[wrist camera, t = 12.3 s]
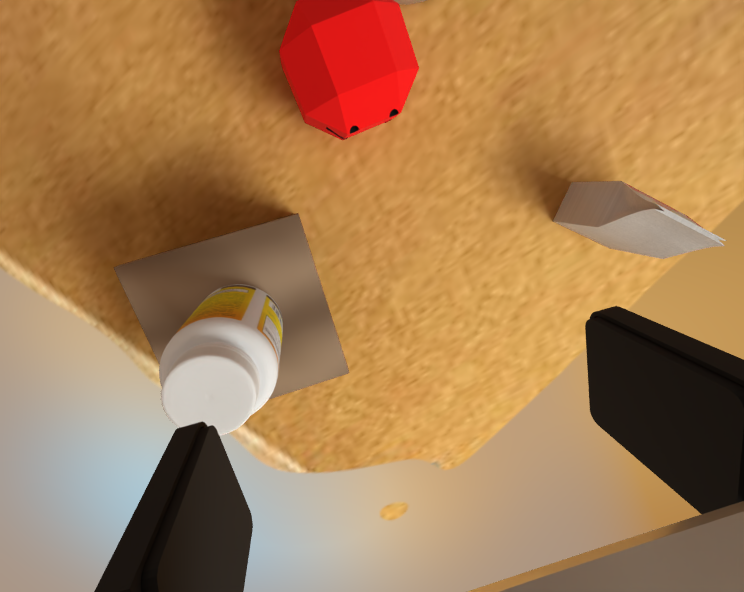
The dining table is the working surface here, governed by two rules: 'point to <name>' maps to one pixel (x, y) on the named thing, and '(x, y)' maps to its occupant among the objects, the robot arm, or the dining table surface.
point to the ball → (348, 63)
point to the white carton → (630, 220)
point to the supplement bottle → (223, 359)
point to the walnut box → (248, 267)
